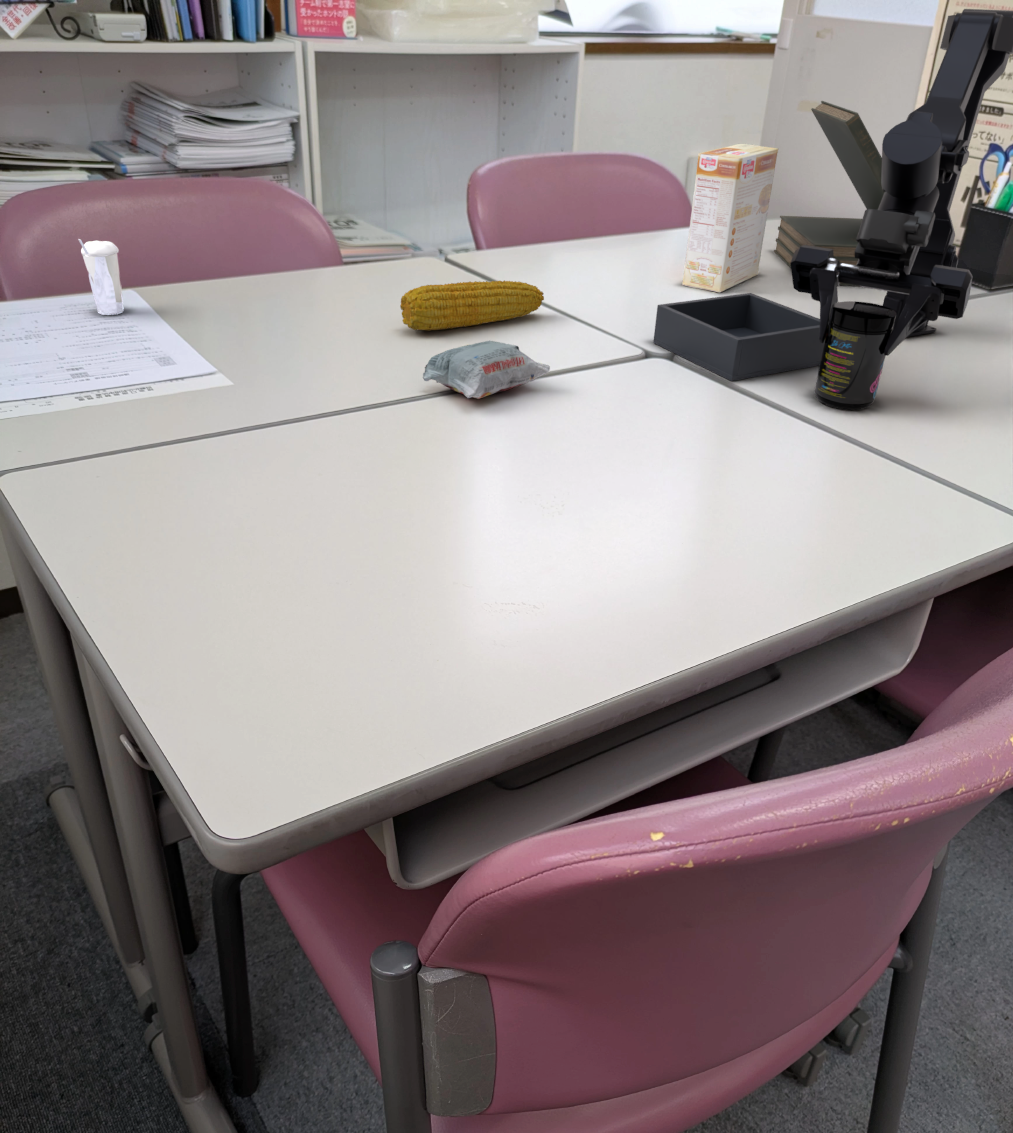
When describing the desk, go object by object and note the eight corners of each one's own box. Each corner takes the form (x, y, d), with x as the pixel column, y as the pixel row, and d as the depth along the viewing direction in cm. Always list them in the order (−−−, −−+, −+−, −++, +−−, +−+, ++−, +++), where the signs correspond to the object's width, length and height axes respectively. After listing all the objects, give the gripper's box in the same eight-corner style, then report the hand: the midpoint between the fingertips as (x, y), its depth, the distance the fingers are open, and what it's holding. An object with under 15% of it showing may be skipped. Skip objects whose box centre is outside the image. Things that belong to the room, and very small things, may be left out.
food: (416, 340, 121) (415, 294, 118) (395, 328, 125) (394, 283, 122) (550, 318, 131) (552, 275, 128) (527, 308, 135) (529, 265, 132)
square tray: (744, 328, 130) (750, 292, 127) (827, 364, 118) (835, 324, 116) (652, 342, 123) (657, 304, 121) (731, 381, 112) (738, 340, 109)
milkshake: (80, 315, 125) (65, 237, 120) (109, 305, 129) (95, 229, 124) (108, 320, 123) (93, 241, 118) (136, 309, 128) (123, 233, 123)
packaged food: (548, 389, 107) (550, 347, 105) (468, 414, 100) (468, 369, 98) (498, 369, 113) (498, 329, 110) (418, 391, 106) (417, 348, 103)
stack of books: (927, 288, 152) (971, 118, 139) (806, 284, 152) (839, 113, 139) (880, 255, 172) (916, 103, 159) (773, 251, 172) (800, 98, 159)
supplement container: (867, 416, 104) (891, 322, 98) (806, 403, 106) (825, 311, 101) (878, 397, 109) (901, 307, 103) (819, 386, 111) (838, 297, 106)
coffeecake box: (719, 267, 160) (738, 142, 149) (759, 275, 156) (781, 147, 146) (679, 285, 149) (696, 151, 139) (721, 293, 146) (741, 156, 135)
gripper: (812, 167, 102) (762, 291, 100) (997, 188, 94) (948, 323, 92) (817, 231, 112) (772, 345, 110) (985, 255, 104) (940, 378, 102)
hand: (852, 347), depth 103 cm, fingers closed on supplement container, 7 cm apart
